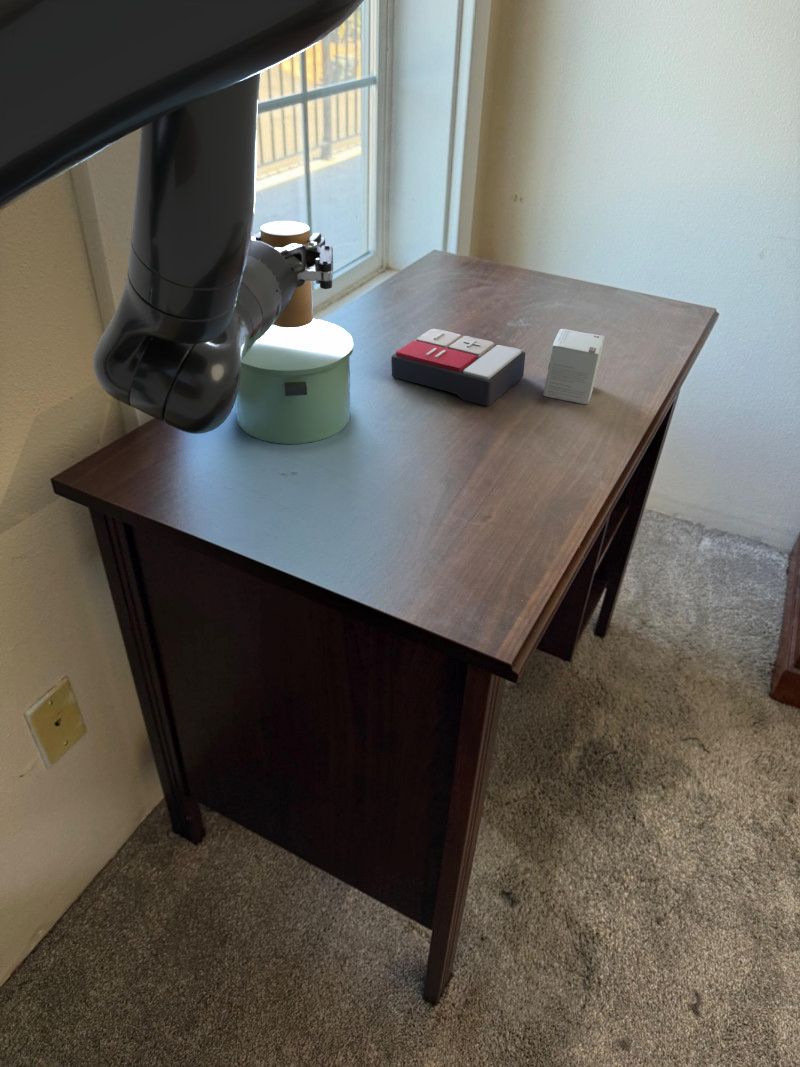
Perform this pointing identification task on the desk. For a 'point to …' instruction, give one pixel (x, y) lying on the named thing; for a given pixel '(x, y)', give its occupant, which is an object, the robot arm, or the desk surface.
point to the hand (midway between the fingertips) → (292, 240)
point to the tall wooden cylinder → (301, 301)
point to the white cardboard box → (573, 366)
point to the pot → (296, 384)
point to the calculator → (460, 365)
